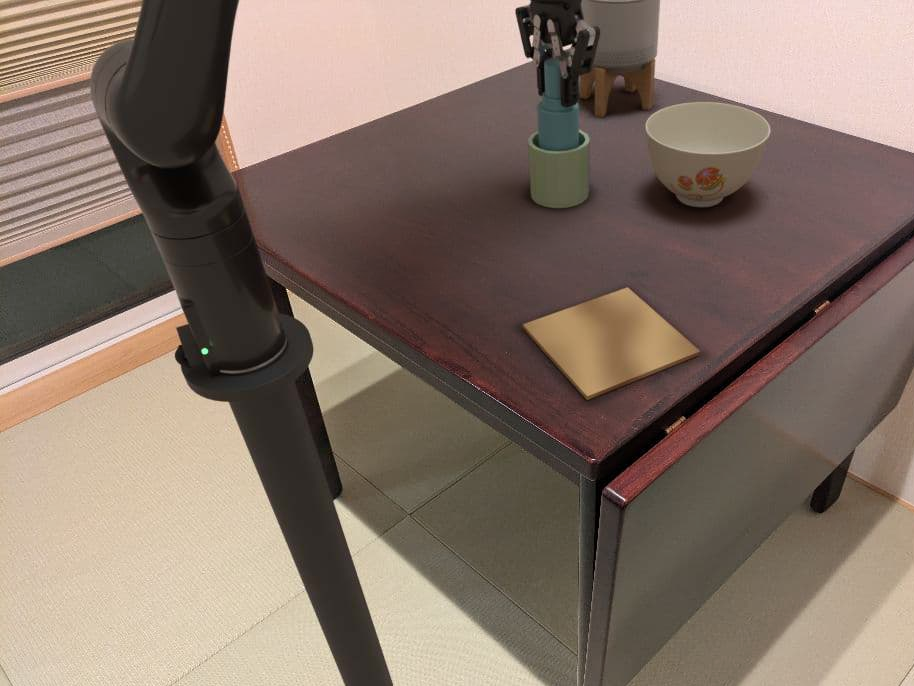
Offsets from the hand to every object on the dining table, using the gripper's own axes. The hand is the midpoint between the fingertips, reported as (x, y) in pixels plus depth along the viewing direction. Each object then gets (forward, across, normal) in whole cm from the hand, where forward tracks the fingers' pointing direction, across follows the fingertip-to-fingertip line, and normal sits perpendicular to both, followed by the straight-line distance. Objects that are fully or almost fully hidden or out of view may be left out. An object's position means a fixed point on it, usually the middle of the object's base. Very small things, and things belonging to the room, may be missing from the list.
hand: (557, 99), depth 102 cm
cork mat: (+13, +29, -17) cm, 37 cm away
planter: (+14, -18, +28) cm, 36 cm away
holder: (+13, 0, 0) cm, 13 cm away
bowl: (+14, +14, +14) cm, 24 cm away
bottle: (+13, 0, 0) cm, 13 cm away
